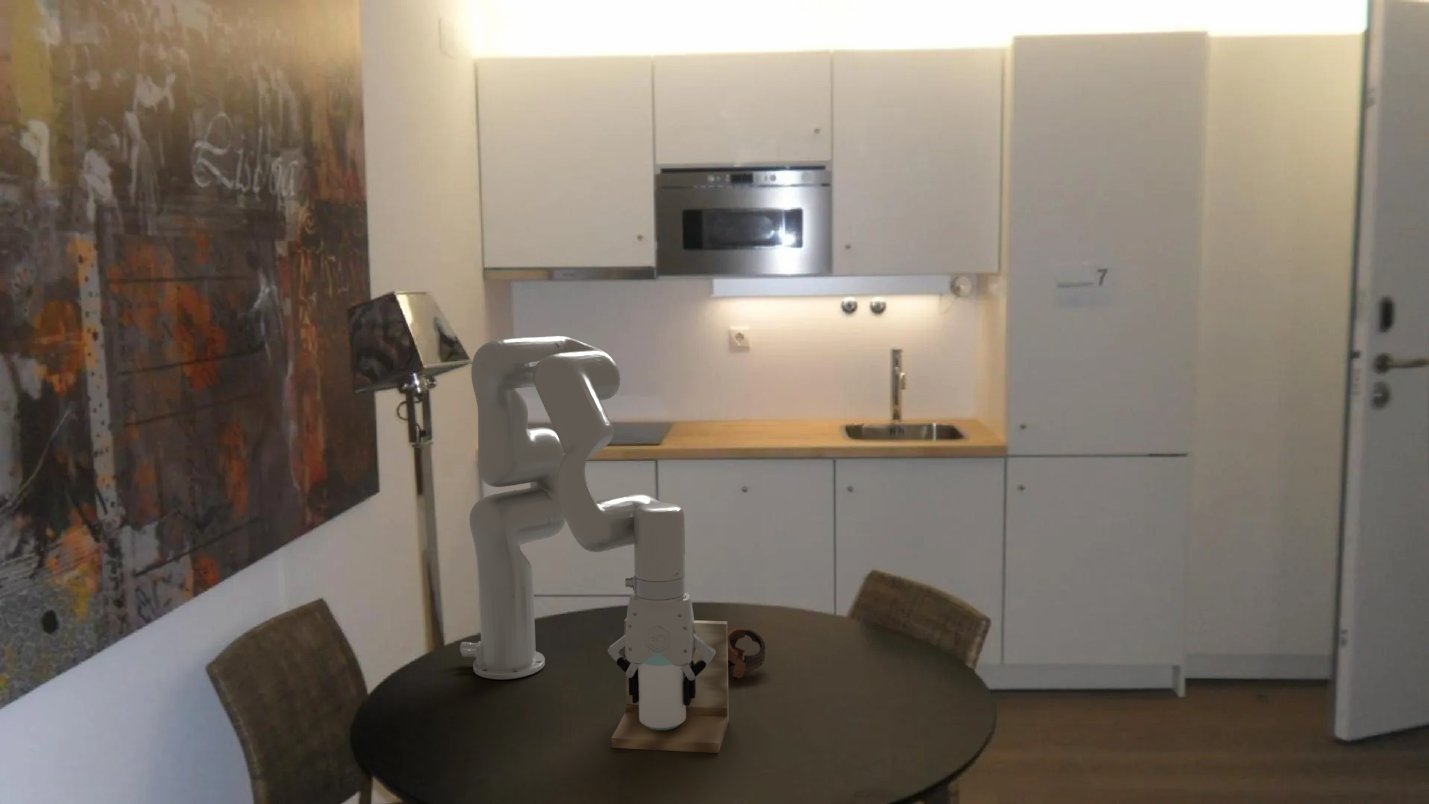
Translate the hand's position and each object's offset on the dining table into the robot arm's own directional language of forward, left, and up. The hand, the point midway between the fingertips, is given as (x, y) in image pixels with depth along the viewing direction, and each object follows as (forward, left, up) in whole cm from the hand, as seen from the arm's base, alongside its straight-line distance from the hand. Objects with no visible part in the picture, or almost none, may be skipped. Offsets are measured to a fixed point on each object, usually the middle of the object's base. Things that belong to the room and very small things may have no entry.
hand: (662, 700), depth 157 cm
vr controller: (+7, +28, -6) cm, 30 cm away
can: (0, 0, -4) cm, 4 cm away
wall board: (+1, +1, -6) cm, 6 cm away
